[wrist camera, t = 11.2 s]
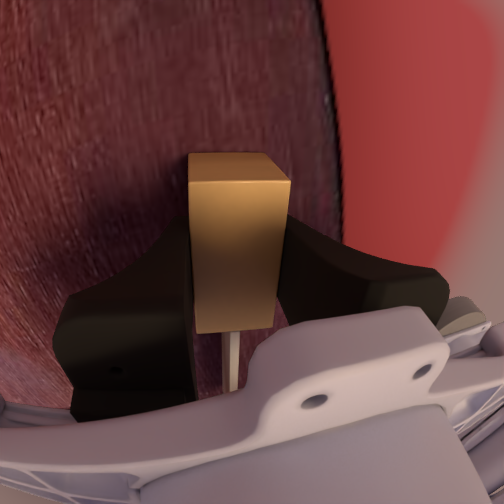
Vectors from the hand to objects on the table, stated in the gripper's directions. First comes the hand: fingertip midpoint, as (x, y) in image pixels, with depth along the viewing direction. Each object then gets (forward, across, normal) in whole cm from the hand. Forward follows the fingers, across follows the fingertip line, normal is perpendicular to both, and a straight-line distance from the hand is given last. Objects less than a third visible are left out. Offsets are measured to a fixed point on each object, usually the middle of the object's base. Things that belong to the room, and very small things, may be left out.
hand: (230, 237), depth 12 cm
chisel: (+1, 0, +4) cm, 5 cm away
